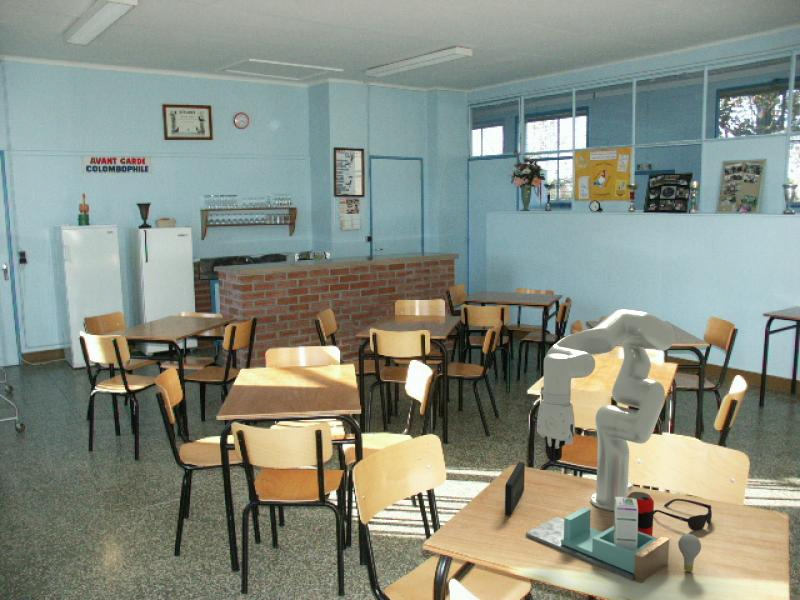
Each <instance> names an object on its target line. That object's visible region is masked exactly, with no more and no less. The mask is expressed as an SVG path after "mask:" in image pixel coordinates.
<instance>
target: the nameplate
mask: <svg viewBox="0 0 800 600" xmlns="http://www.w3.org/2000/svg"><path fill="white" fill-rule="evenodd" d="M525 464H526V463H525V462H523V461H522V462H521V461H517V463H516V465H515V467H514V469H513V471H512V473H511V474H510V476H509V478H508V479H507V481H506V482H505V487H504V489H505V490H504V499H505V500H504V514H506V516H513V513H514V511H515V509H516V508H517V505H518V503H519V501H520V499H521V497H522V495H523V493H524V492H525V469H526V466H525Z"/></svg>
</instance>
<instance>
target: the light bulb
mask: <svg viewBox="0 0 800 600" xmlns="http://www.w3.org/2000/svg"><path fill="white" fill-rule="evenodd" d="M678 549H679V552H680V553H681V555H682V556H683V563H684V565H683V569H684V570H685V572H687V573H690V572H693V571H694V568H693V567H694V562H695V561H694V560H695V559H696V558H697V556H698V555H699V554H700V552H701V550H702V543H701V541H700V539H699V538H698V537H697V536H696V535H694V534H691V533H686V534H683V535H682V536H681V537H680V538H679V540H678Z"/></svg>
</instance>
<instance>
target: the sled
mask: <svg viewBox="0 0 800 600" xmlns="http://www.w3.org/2000/svg"><path fill="white" fill-rule="evenodd" d="M591 511H592V510H591V508H589V507H585V506H584V507H582V508H581V509H578V510H576V511H575V512H573V513H570V514H569V515H567V516H565V517H564V518H563V519H564V538H563V539H561V544H563V545H565V546H568V547H570V548H573V549H575V550H578V551H580V552H582V553H585V554H587V555H590V556H592V557H595V558H597V559H599V560H602V561H604V562H607V563H609V564H612V565H614V566H616V567H619V568H621V569H624V570H626V571H629V572H631V573H634V568H635V554H636V553H638V552H639V551H641V550H642V549H644V548H645V547H647V546H648V545H650V544H651V543H653V542H654V541H656V540H657V539H659V538H658V537H655V536H653V535H652V536H650V535H647V534H645V533H642V532H639V531H638V538H637V550H635V551H631V550H628V549H626V548H623V547H621V546H618V545H616V544H614V525H612V526H610V528H607V529H606V530H604V531H601V530H599V529H596V528H594V527H591Z"/></svg>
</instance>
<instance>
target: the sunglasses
mask: <svg viewBox="0 0 800 600" xmlns="http://www.w3.org/2000/svg"><path fill="white" fill-rule="evenodd" d="M674 502H685V503H688V504H693V505H696V506H699V507H703V508H705V509H707V512H706V513H705V514H698V515H693V516H691V517H688V518H686V517H683V516H681V515H676V514H673V513H669V512H666V511H663V510H660V509H655V510H654V512H653V516H654V515H655V514H656V513H661V514H663V515H666V516H669V517H671V518H673V519H676V520H680V521H682V522H684V523H685V522H686V523H687V527H688V528H689V529H690V530H691V531H694V532H696V531H701V530H703V529H704V528H705V526H706V523H707V524H708V525H711V521H712V516H713V514H712V505H711V504H706V503H704V502H703V503H702V502H699V501H695V500H690V499H683V498H675V499H674V498H673V499H671V500H669V501H667V502H666V503H665V504H664V505H663V507H664V508H668V507H669V506H670V505H671V504H672V503H674Z"/></svg>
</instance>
